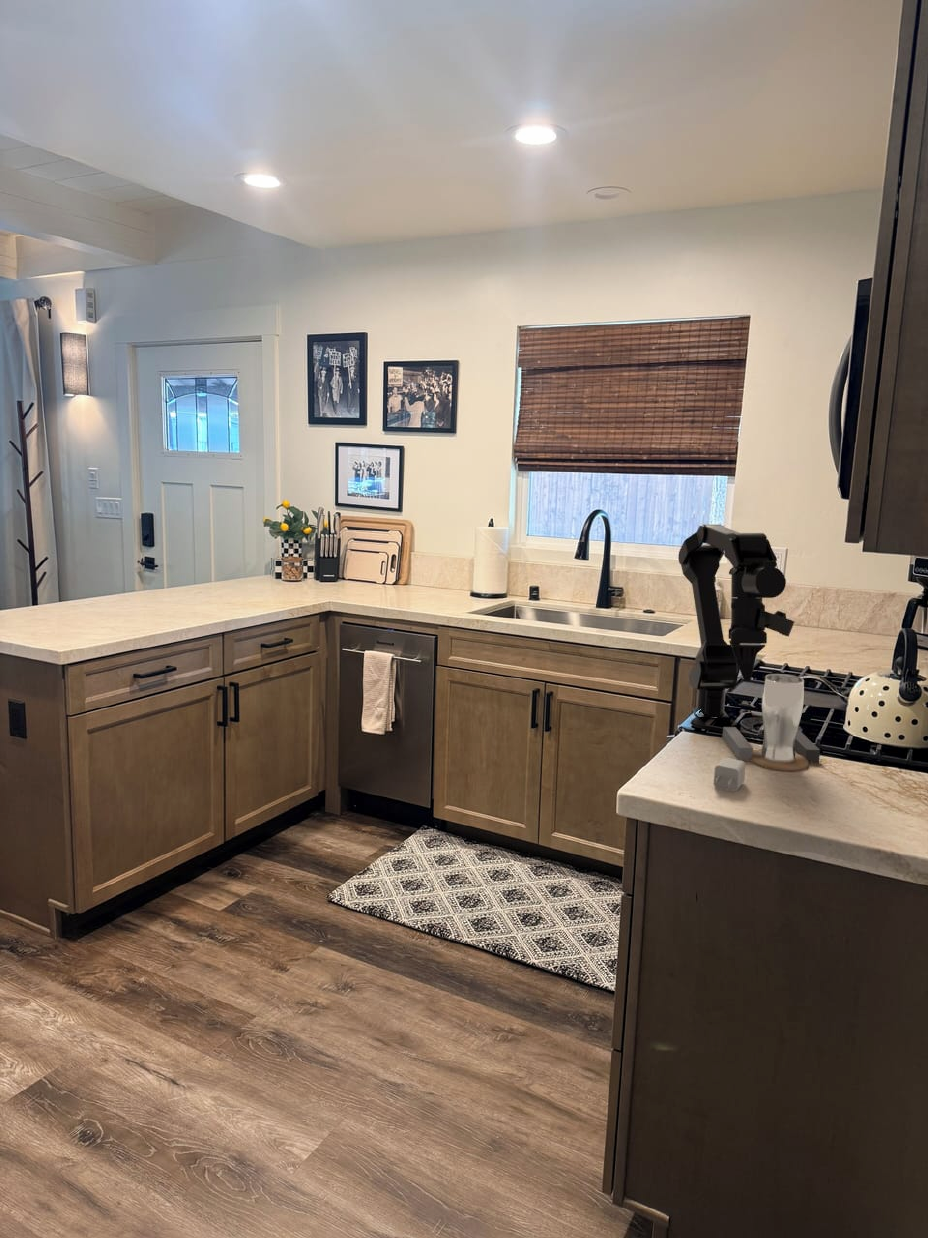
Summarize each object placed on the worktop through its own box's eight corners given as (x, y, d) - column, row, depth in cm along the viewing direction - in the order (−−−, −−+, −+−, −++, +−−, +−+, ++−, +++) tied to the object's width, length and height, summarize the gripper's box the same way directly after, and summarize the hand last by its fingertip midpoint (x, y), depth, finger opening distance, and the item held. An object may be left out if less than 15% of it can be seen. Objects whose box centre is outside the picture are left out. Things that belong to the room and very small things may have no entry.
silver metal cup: (799, 755, 154) (806, 676, 151) (796, 767, 147) (803, 685, 145) (760, 749, 157) (766, 671, 154) (755, 760, 151) (761, 680, 148)
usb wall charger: (744, 784, 141) (745, 761, 141) (733, 797, 136) (735, 774, 135) (720, 779, 143) (722, 757, 143) (708, 792, 138) (710, 769, 137)
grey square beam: (722, 738, 164) (723, 727, 164) (734, 739, 164) (735, 727, 164) (738, 760, 152) (739, 747, 152) (751, 760, 152) (752, 748, 152)
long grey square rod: (784, 740, 164) (785, 728, 163) (796, 740, 163) (797, 729, 163) (805, 762, 152) (806, 749, 151) (818, 762, 152) (820, 750, 151)
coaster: (743, 751, 157) (743, 748, 157) (797, 752, 157) (797, 749, 157) (758, 770, 147) (759, 767, 147) (816, 772, 147) (816, 769, 147)
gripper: (796, 598, 149) (795, 684, 150) (786, 597, 167) (786, 675, 168) (731, 598, 153) (731, 683, 153) (728, 597, 170) (728, 673, 171)
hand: (746, 678), depth 161 cm, fingers open, 9 cm apart
